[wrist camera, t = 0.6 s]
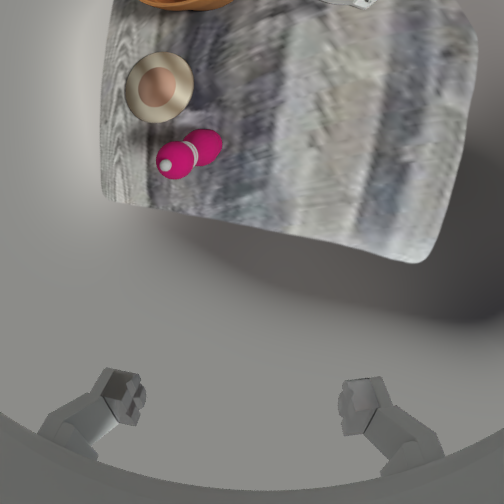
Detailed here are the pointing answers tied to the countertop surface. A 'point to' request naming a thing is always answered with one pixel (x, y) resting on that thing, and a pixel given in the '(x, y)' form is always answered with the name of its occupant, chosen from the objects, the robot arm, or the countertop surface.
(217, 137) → the pepper mill
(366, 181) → the countertop surface
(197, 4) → the flower pot
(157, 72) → the disc
